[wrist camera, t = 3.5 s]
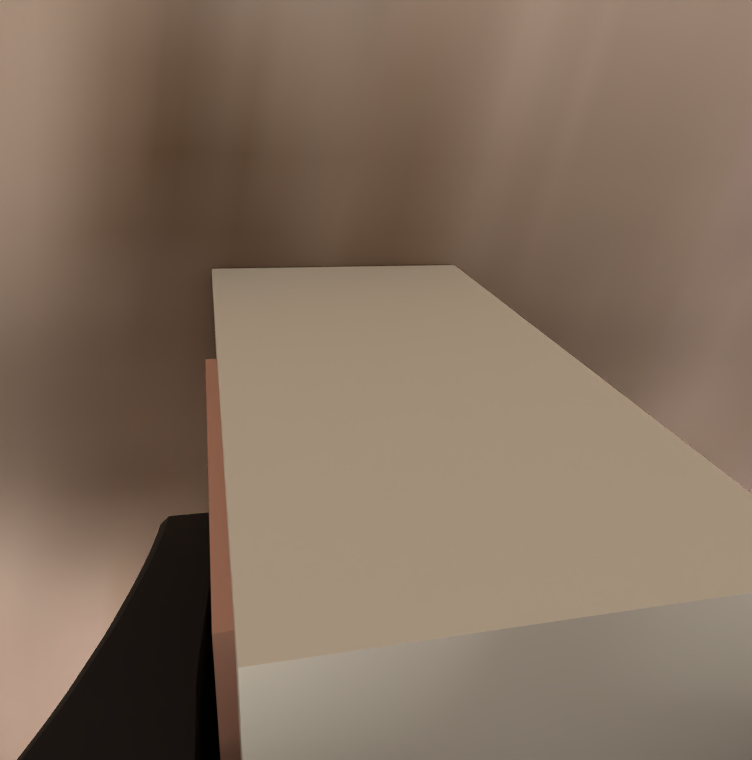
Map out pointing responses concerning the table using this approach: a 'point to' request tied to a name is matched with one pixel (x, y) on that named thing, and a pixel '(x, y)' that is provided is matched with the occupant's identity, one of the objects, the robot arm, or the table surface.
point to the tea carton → (457, 537)
